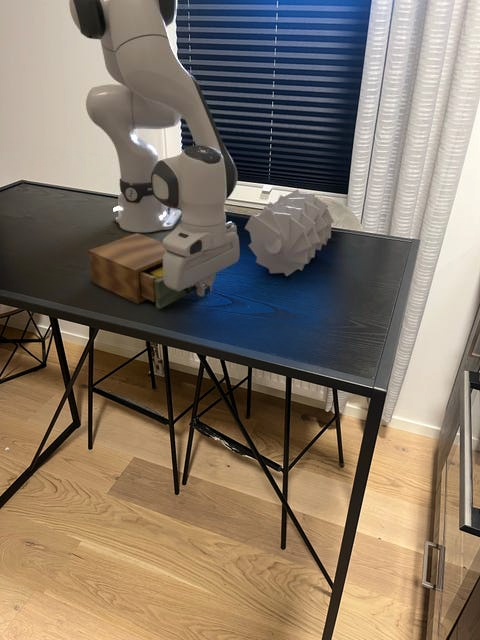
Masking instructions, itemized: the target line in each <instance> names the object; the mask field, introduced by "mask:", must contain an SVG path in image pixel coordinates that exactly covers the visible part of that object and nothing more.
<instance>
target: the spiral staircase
mask: <svg viewBox="0 0 480 640" xmlns="http://www.w3.org/2000/svg"><path fill="white" fill-rule="evenodd" d="M329 206H330V205H329V204H328V203H326V202H325V201H323V200H321V199H320V198H318V197H317V196H316V193H314V192H300V191H299V189H298V188H297V189H295V190H294V191H292V192H289V194H286V195H282V194H280V195H279V197H278V199H277V201H276V202H274V203H272V202H271V201H269V202H268V205H267V206H266V205H265V206H264V207H263V208H262V209H261V211H260V213H259V214H258V215H255V214H253V213H252V214H251V216H250V217H249V219H248V221H247V223H246V224H245V227H244V229H245V230H246V231H248V232H249V236H250V241H251V242H250V243H249V244H248V245H247V246H248V248H249V249H250V250H251V251H252V253H253V254H254V255H255V257H256V259H255V263H256V264H258V265H261V266H262V267H264V268H266V269H268V271H269V274H284V275H285V277H288V276H290V275H292V274H293V273H294V272H295V271H297V270H300V271H303V270H304V267H305V265H308V264H309V263H310V262H311V261H312V258H313V259H314V258H315V256H316V250H318V251H322V247H323V245H324V246H327V243H328V240H329V239H331V238H332V224H333V223H335V221H334V218H333V217H332V214H331V212H330V210H329V209H328V208H329Z"/></svg>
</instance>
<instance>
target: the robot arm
mask: <svg viewBox="0 0 480 640" xmlns="http://www.w3.org/2000/svg"><path fill="white" fill-rule="evenodd" d="M68 2H69V3H68V4H69V5H68V6H69V13H70V15H71V18H72V21H73V23H74V25H75V26H76V27H77V29H78V30H79V31H80V34H81V35H83V36H84V37H85V38H86V39H90V40H99V41H100V45H101V50H102V56H103V61H104V65H105V69H106V70H107V73H108V74H109V76H110V77H111V78H112V79H113V80H114V81H115V82H117V83H119V84H113V83H112V84H111V83H110V84H109V83H108V84H103V85H97V86H93V87H92V88H91V89H89V92H88V93H87V94H86V95H87V96H86V100H85V107H86V108H85V109H86V112H87V115H88V117H89V119H90V120H91V121H92V122H93V124H95V125H96V126H97V127H98V128H100V129H101V130H102V131H103V132H104V133H105V134H106V135H107V136H108V138H109V139H110V140H111V142H112V144H113V146H114V148H115V151H116V155H117V159H118V166H119V174H120V178H119V183H118V184H119V191H120V192H121V193H119V195H118V196H117V206H115V207H114V208H113V212H116V211H118V215H117V216H116V217H115V222H116V223H117V224H119V225H118V226H119V227H120V229H122V230H124V231H126V232H131V233H153V232H158V231H168V230H172V231H171V232H169V234H167V235H166V236H164V238H163V239H162V242H163V248H164V249H166V250H167V251H166V252H165V254H164V257H163V280H164V284H165V285H166V286H167V287H168V288H170V289H172V290H175V291H178V292H179V291H181V290H183V289H185V288H187V287H189V286H191V285H193V284H194V285H195V286H196V288H197V290H196V294H197V296H199V297H204V296H206V295H208V294H210V293H212V291H213V285H214V282H215V279H216V276H217V273H219V272H221V271H222V270H223V271H224V269H225V270H226V269H227V268H229V267H230V266H233V265H234V264H236V263H238V261H239V259H240V257H241V256H240V255H241V253H240V252H241V250H240V249H241V247H240V240H239V235H238V226H237V225H236V224H235V223H234V222H232V221H228V222H227V216H226V212H225V203H226V200H227V199H229V198H230V197H231V195H232V194H233V192H234V191H235V189H236V186H237V183H238V178H239V174H238V169H237V166H236V163H235V162H234V160H233V158H232V156H231V155H230V153H229V151H228V150H227V148H226V146H225V144H224V142H223V139H222V137H221V135H220V132H219V130H218V127H217V125H216V123H215V120H214V117H213V114H212V113H211V109H210V108H209V106H208V103H207V100H206V98H205V96H204V93H203V91H202V89H201V87H200V85H199V83H198V81H197V79H196V78H195V77H194V76H193V75H191V74H190V73H189V72H188V71H187V70H186V69H185V67H183V65H182V63H181V62H180V60H179V59H178V57H177V55H176V53H175V51H174V49H173V46H172V41H171V40H170V36H169V31H168V29H167V27H168V26H170V25H172V24H173V23H174V21H175V20H176V17H177V9H178V0H69V1H68ZM182 117H183V119H184V121H185V122H186V125H187V127H188V130H189V131H190V134H191V136H192V139H193V141H194V143H195V145H190V146H187V147H185V148H184V149H183V150H182V151H181V153H180V154H178V155H175V156H171V157H166V158H163V159H161V160H159V154H158V151H157V150H156V148H155V147H154V146H153V145H152V144H150V143H149V142H147V141H145V140H143V139H141V138H140V137H139V136H138V135H137V133H136V131H135V130H163V129H164V130H165V129H169V128H173V127H176V126H177V125H178V124H179V123H180V121H181V119H182ZM176 209H177V210H176ZM179 219H180V223H179V224H177V226H176V227H175V228H174V229H173V227H174V226H175V225H176V223H177V222H178V220H179ZM204 279H205V280H204ZM202 283H204V284H202Z"/></svg>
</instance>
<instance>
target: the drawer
mask: <svg viewBox="0 0 480 640" xmlns="http://www.w3.org/2000/svg"><path fill="white" fill-rule="evenodd" d="M161 267H163V262H162V263H159V264H157V265H155V266H152V267H150V268H148V269H145V270H143V271H141V272H138V276H139V288H140V296H142V297H144V298H146V299H147V300H149V301H151V302H153V303H155V307H156V308H157V309H162V308H164V307H166V306H168V305H170V304H172V303H174V302H176V301H178V300H180V299H182V298H184V297H185V296H188V295H189V294H191V293H193V292H196V291H197V288H196V286H195V285H194V284H193V285H191V286H189V287H187V288H185V289H183V290H181V291H179V292H178V291H175V290H172V289H170V288H168V287H167V286H166V285H165V284H164V280H163V277H161V278H159V279H157V280H155V277H153V276H151V275H150V272H152V271H154V270H157V269H159V268H161ZM204 280H205V279H204ZM202 284H204V283H202Z"/></svg>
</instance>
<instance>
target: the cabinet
mask: <svg viewBox="0 0 480 640" xmlns="http://www.w3.org/2000/svg"><path fill="white" fill-rule="evenodd" d="M166 251H167V250H166V249H164V248H163V241H160V240H157V239H154V238H153V237H149V236H146V235H144V234H142V233H139V232H135V233H134V234H130V235H128V236H125V237H122V238H120V239H116V240H114V241H111V242H108V243H105V244H103V245H100V246H97V247H93V248H92V249H91V248H90V249H89V250H88V257H89V263H90V264H89V265H90V272H91V278H92V283H93V284H95V285H98V286H99V287H101V288H103V289H106V290H107V291H110V292H111V293H114V294H116V295H117V296H120V297H123V298H124V299H127V300H128V301H131V302H133V303H134V304H137V305H139V304H141V303H144V302H146V301H147V300H148V299H146V298H144V297H142V296H140V288H139V276H138V272H141V271H143V270H145V269H148V268H150V267H152V266H155V265H157V264H159V263H162V262H163V257H164V254H165V252H166Z"/></svg>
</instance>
